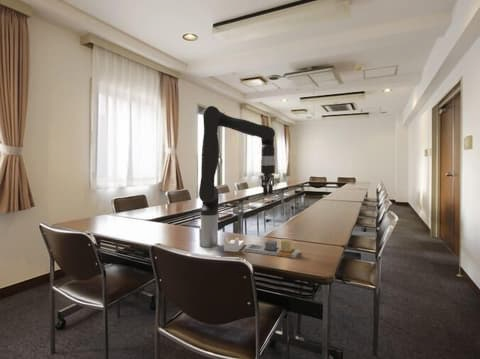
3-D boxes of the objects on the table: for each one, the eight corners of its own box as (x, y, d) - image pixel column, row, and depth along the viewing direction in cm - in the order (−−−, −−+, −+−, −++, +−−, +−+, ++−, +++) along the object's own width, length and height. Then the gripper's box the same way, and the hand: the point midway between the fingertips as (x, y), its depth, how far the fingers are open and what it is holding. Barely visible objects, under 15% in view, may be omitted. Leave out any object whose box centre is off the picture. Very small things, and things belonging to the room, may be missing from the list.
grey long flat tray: (243, 253, 137) (243, 248, 137) (250, 248, 145) (250, 243, 145) (295, 260, 126) (295, 254, 126) (299, 254, 135) (299, 249, 135)
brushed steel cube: (265, 252, 135) (265, 242, 135) (268, 250, 139) (268, 240, 139) (274, 253, 133) (274, 243, 133) (276, 251, 137) (276, 241, 137)
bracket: (237, 254, 136) (237, 239, 136) (223, 253, 138) (223, 238, 138) (244, 247, 149) (244, 233, 149) (231, 246, 151) (231, 232, 151)
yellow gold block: (281, 254, 131) (281, 241, 131) (283, 251, 136) (283, 238, 135) (290, 255, 130) (290, 242, 129) (292, 253, 134) (292, 239, 133)
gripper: (265, 164, 156) (265, 193, 157) (256, 164, 143) (256, 195, 144) (278, 164, 153) (278, 193, 154) (270, 164, 140) (270, 196, 141)
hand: (268, 194), depth 149 cm, fingers open, 8 cm apart
